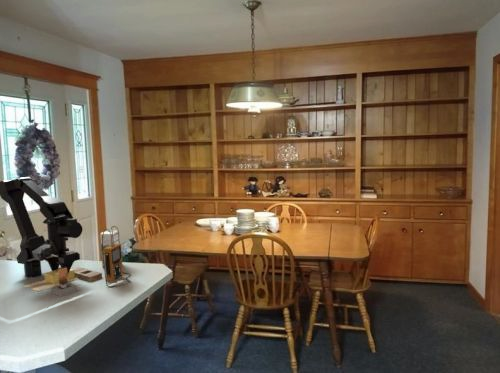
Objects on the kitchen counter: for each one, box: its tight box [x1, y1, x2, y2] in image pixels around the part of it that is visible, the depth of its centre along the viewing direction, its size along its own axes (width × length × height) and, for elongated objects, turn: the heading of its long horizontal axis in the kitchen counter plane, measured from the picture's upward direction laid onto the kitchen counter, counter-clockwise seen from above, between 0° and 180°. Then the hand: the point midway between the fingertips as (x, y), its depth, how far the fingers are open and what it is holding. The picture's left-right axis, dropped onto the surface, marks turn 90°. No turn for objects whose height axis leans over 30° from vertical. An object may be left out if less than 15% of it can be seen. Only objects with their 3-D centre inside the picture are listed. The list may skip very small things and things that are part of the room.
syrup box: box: [99, 230, 120, 268], centre depth 161 cm, size 6×6×14 cm
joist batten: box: [71, 266, 103, 282], centre depth 147 cm, size 15×5×2 cm, turn 56°
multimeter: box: [102, 225, 132, 288], centre depth 143 cm, size 15×10×20 cm
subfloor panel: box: [24, 277, 79, 292], centre depth 142 cm, size 10×15×1 cm, turn 146°
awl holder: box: [49, 282, 79, 297], centre depth 132 cm, size 6×6×2 cm
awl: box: [58, 266, 69, 289], centre depth 132 cm, size 3×3×9 cm
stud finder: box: [44, 268, 75, 284], centre depth 144 cm, size 6×8×4 cm
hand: (60, 276), depth 144 cm, fingers closed on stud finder, 6 cm apart
